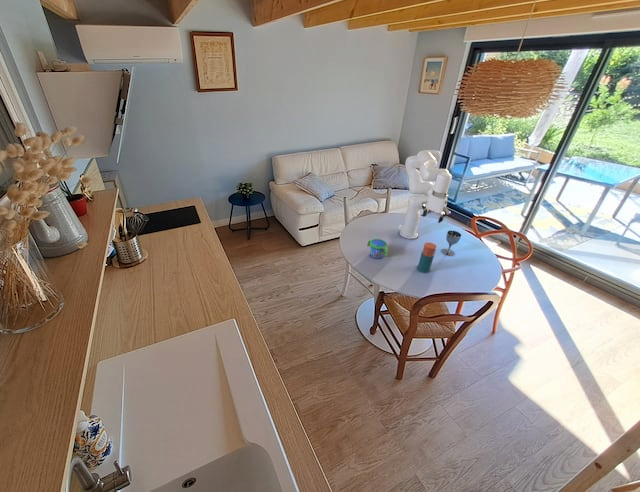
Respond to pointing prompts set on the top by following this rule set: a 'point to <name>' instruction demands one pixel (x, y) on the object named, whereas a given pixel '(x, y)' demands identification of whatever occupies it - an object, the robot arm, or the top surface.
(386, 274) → the top surface
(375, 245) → the snack cup
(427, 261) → the bottle
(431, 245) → the cup
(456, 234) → the wine glass
